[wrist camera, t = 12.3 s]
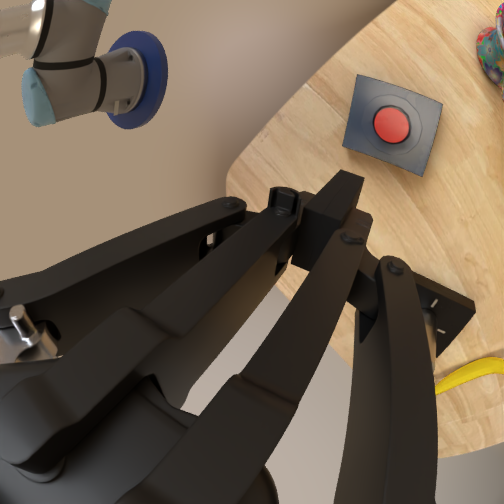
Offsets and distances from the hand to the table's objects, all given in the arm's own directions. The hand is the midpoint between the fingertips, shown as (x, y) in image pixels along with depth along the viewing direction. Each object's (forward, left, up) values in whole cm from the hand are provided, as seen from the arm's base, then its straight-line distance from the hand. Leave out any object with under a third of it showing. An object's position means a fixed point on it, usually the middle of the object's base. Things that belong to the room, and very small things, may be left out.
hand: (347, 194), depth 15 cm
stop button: (+1, +4, -15) cm, 15 cm away
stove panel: (+16, -19, -18) cm, 31 cm away
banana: (+31, -25, -19) cm, 44 cm away
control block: (+1, +4, -18) cm, 19 cm away
